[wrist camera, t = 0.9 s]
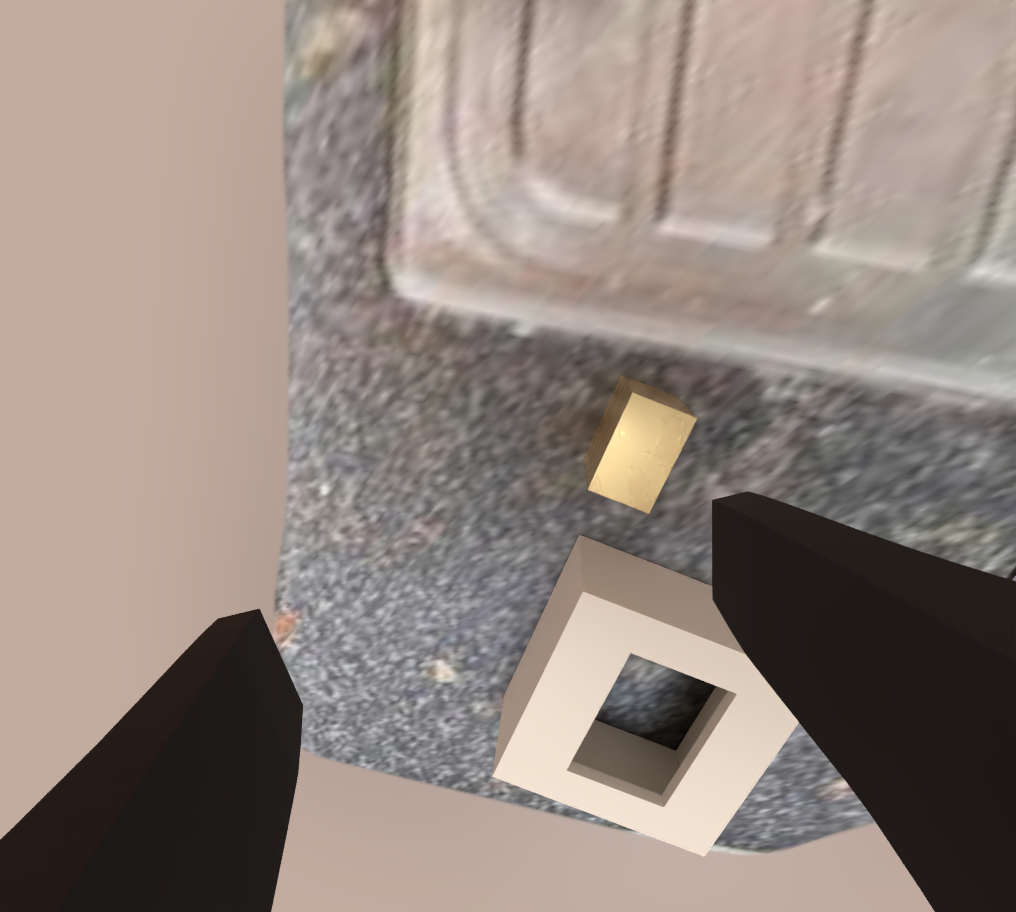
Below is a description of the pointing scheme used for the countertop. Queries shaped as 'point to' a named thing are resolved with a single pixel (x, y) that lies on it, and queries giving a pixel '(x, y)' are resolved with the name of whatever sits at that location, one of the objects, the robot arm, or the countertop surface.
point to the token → (637, 444)
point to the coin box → (589, 678)
